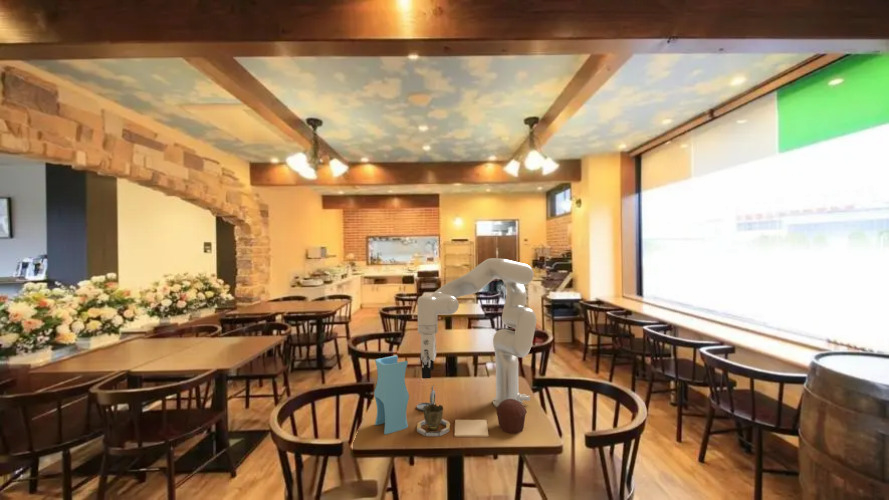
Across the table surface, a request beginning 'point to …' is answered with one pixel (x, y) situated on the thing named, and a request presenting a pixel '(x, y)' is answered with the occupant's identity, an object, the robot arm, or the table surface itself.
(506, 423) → the muffin
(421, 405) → the pocket watch
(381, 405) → the vase
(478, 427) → the cork mat
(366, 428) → the table surface
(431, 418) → the cup
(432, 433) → the socket ring
